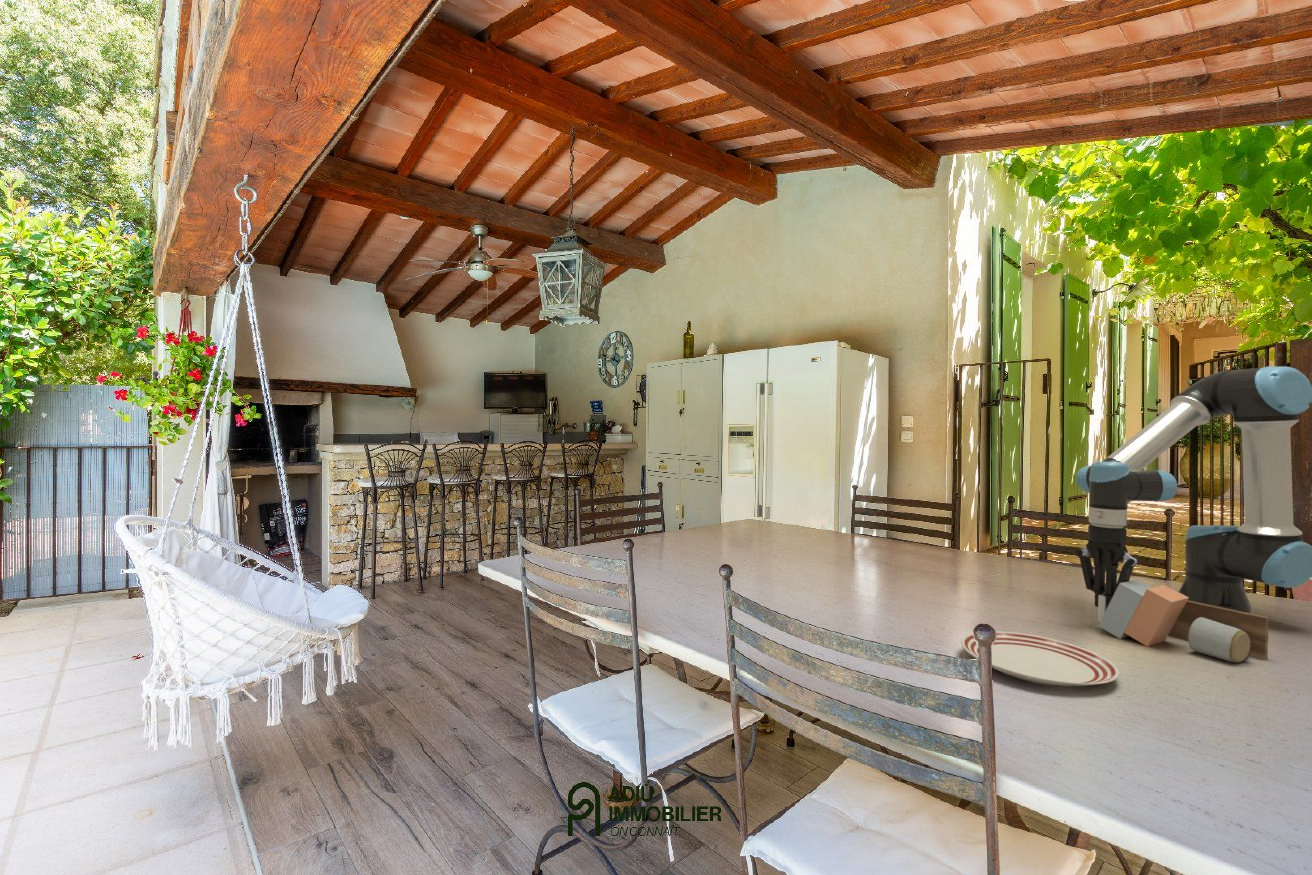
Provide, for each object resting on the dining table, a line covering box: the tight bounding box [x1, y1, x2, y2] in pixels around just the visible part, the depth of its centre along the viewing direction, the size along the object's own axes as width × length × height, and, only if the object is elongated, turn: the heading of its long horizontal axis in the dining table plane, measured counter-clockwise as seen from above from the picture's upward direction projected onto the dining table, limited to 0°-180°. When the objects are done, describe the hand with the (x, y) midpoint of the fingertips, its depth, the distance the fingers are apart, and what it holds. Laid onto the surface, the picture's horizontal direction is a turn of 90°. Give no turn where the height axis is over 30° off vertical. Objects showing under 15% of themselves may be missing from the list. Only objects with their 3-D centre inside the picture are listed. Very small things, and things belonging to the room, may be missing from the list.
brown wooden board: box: [1103, 582, 1270, 661], centre depth 145 cm, size 1×32×9 cm, turn 28°
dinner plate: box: [960, 630, 1120, 687], centre depth 126 cm, size 27×27×3 cm
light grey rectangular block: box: [1098, 579, 1153, 640], centre depth 145 cm, size 8×5×12 cm, turn 118°
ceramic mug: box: [1187, 617, 1250, 664], centre depth 133 cm, size 11×8×8 cm
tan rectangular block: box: [1124, 584, 1189, 647], centre depth 140 cm, size 8×5×12 cm, turn 118°
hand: (1104, 621), depth 150 cm, fingers closed
